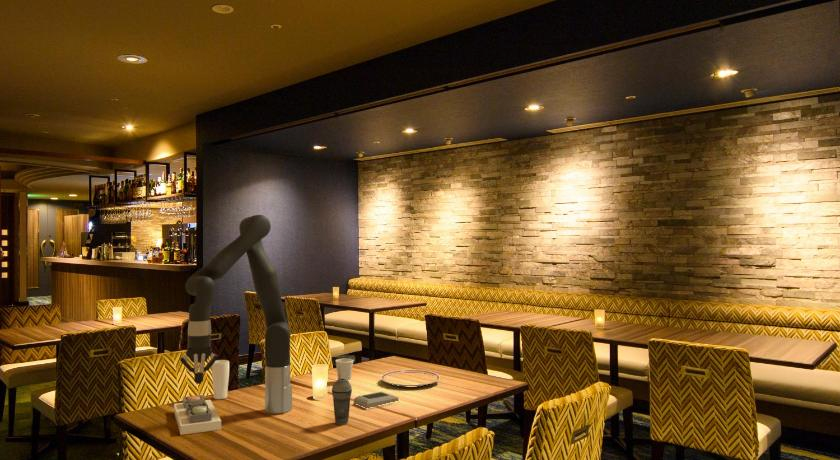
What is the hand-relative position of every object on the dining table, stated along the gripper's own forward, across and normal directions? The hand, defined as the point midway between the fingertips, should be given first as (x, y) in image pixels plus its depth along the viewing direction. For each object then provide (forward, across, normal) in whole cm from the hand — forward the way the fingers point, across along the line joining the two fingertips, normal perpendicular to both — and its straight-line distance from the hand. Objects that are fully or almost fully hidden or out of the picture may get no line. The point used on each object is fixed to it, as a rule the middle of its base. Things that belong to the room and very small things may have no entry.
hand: (198, 383), depth 204 cm
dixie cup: (+15, -66, -42) cm, 80 cm away
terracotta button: (+12, 0, -19) cm, 22 cm away
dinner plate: (+15, -94, -29) cm, 99 cm away
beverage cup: (+15, -47, +16) cm, 52 cm away
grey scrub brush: (+15, -67, -2) cm, 69 cm away
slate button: (+11, 0, -9) cm, 14 cm away
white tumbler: (+15, -11, -37) cm, 41 cm away
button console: (+15, 0, -9) cm, 18 cm away
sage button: (+11, 0, +1) cm, 11 cm away
